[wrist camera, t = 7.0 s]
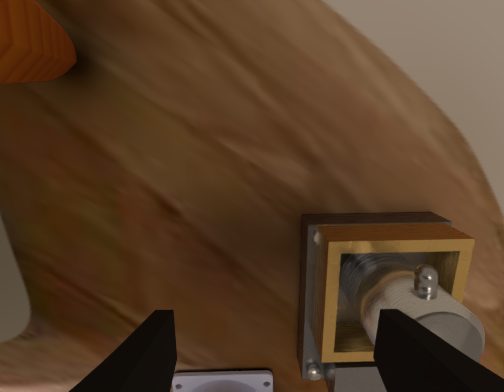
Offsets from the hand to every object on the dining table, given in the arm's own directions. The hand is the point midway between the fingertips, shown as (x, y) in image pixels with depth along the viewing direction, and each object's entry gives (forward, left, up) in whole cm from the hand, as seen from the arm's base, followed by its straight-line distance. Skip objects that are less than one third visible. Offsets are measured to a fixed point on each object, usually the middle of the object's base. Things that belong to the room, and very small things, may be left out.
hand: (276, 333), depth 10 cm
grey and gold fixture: (-5, -7, -10) cm, 13 cm away
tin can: (-3, -7, -8) cm, 11 cm away
